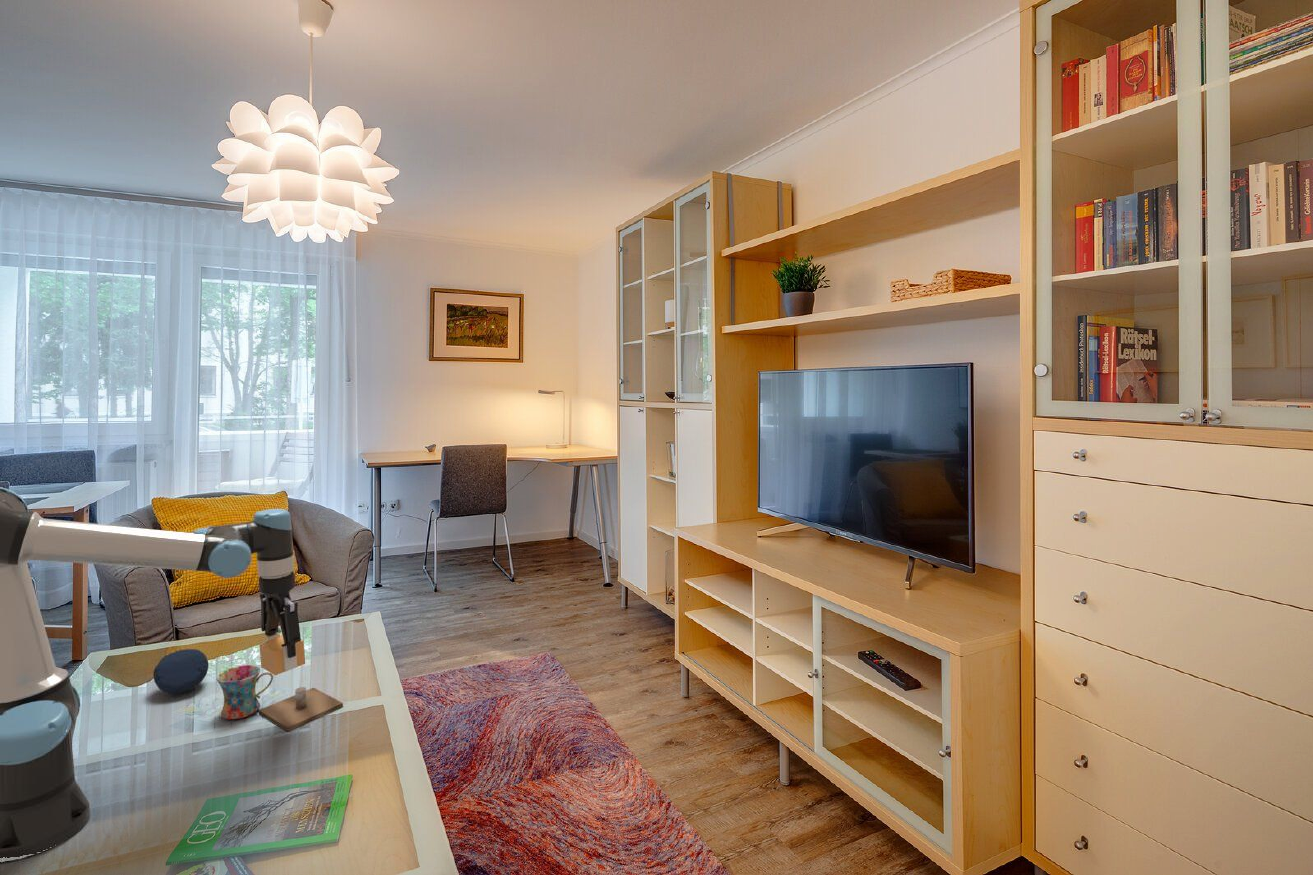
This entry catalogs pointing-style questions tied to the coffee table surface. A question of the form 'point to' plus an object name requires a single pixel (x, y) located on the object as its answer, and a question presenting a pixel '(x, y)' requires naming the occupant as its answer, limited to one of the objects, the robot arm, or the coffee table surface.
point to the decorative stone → (181, 671)
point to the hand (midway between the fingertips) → (282, 664)
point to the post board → (300, 708)
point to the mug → (240, 691)
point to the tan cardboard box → (278, 655)
